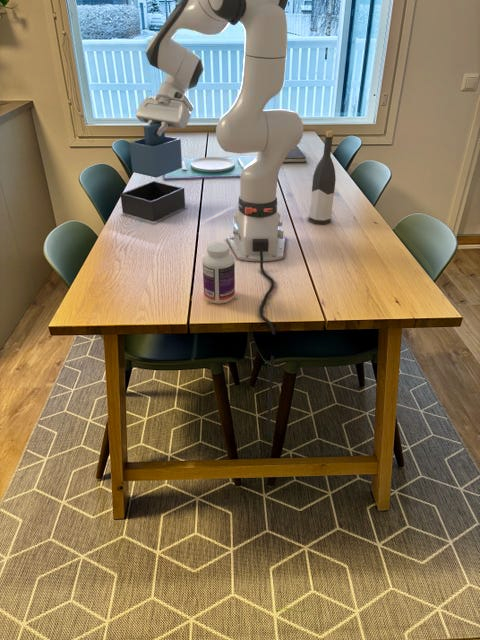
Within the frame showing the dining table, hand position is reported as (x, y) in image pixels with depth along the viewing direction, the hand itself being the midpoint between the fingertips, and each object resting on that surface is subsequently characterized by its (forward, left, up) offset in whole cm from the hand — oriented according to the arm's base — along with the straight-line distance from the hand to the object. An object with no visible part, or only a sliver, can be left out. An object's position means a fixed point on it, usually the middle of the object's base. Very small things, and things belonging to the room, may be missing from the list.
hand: (153, 134), depth 159 cm
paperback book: (+70, -57, -26) cm, 94 cm away
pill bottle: (-63, -20, -27) cm, 72 cm away
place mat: (+52, -20, -27) cm, 62 cm away
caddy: (+1, 0, -12) cm, 12 cm away
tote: (-2, +2, -26) cm, 27 cm away
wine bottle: (-12, -57, -27) cm, 64 cm away
